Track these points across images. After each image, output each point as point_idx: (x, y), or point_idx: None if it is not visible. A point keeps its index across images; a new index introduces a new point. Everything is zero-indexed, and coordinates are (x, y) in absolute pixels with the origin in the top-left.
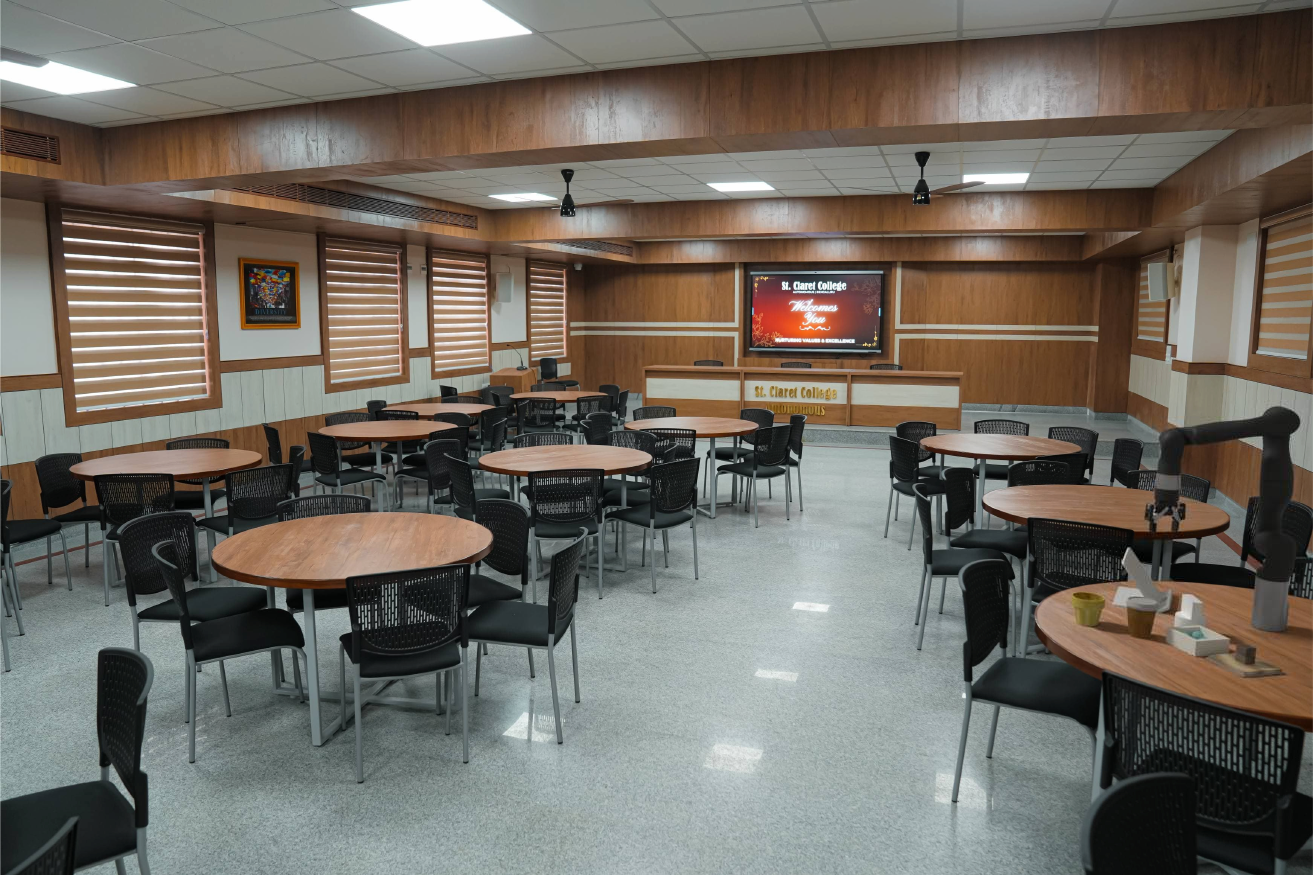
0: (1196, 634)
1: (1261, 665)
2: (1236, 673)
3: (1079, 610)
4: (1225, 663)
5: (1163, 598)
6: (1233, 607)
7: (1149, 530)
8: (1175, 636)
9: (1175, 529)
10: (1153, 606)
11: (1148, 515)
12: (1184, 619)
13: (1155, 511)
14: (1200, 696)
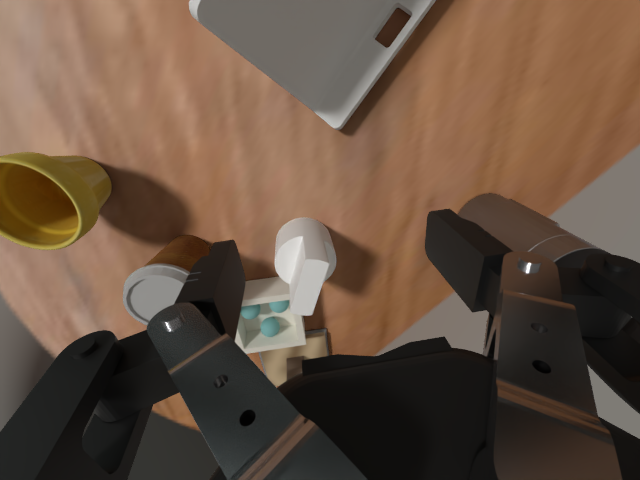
0: (272, 310)
1: None
2: (266, 376)
3: (28, 209)
4: (264, 366)
5: (402, 5)
6: (544, 84)
7: (200, 261)
8: None
9: (435, 260)
10: None
11: (96, 400)
12: (279, 275)
13: (225, 423)
14: (179, 421)
